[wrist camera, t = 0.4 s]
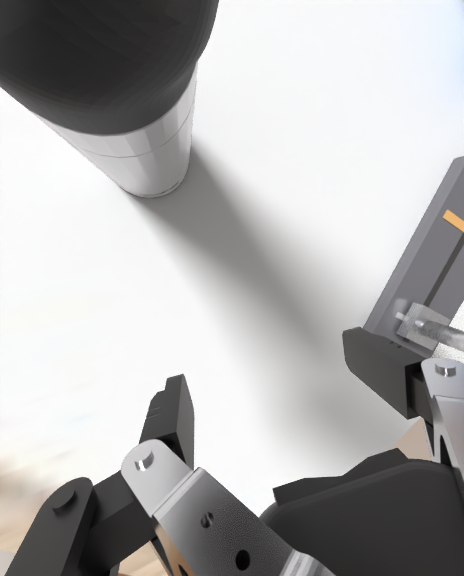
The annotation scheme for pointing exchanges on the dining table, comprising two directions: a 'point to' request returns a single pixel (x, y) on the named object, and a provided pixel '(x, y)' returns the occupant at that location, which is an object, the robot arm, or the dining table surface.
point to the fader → (430, 328)
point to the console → (428, 265)
